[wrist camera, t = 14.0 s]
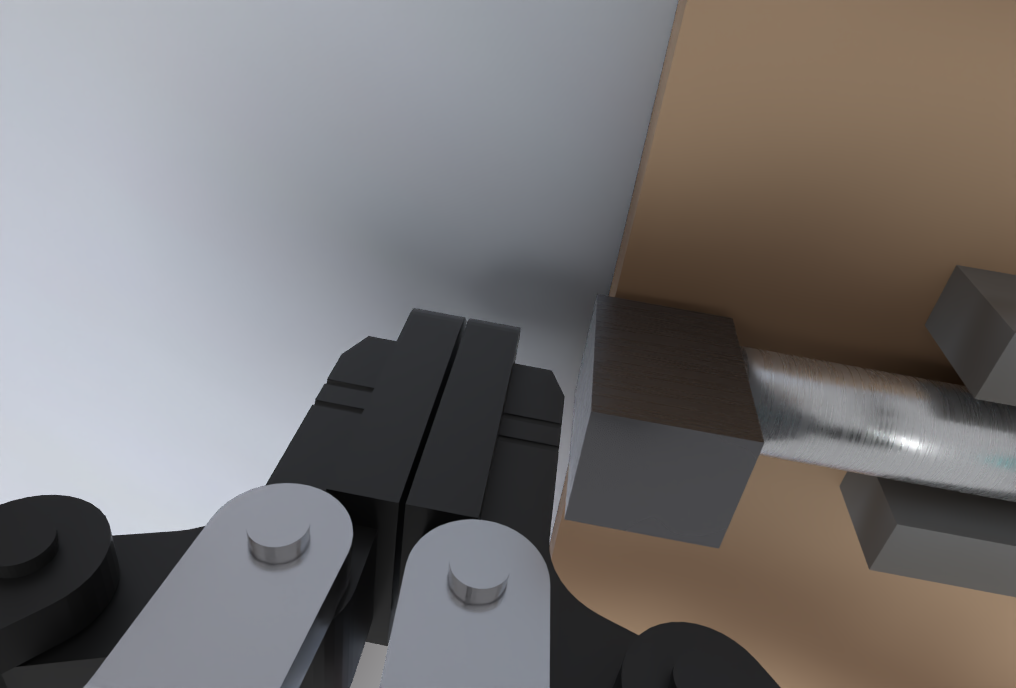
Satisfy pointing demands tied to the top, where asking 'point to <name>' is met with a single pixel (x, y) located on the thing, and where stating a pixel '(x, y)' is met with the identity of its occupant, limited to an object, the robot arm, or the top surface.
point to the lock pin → (752, 424)
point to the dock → (833, 324)
